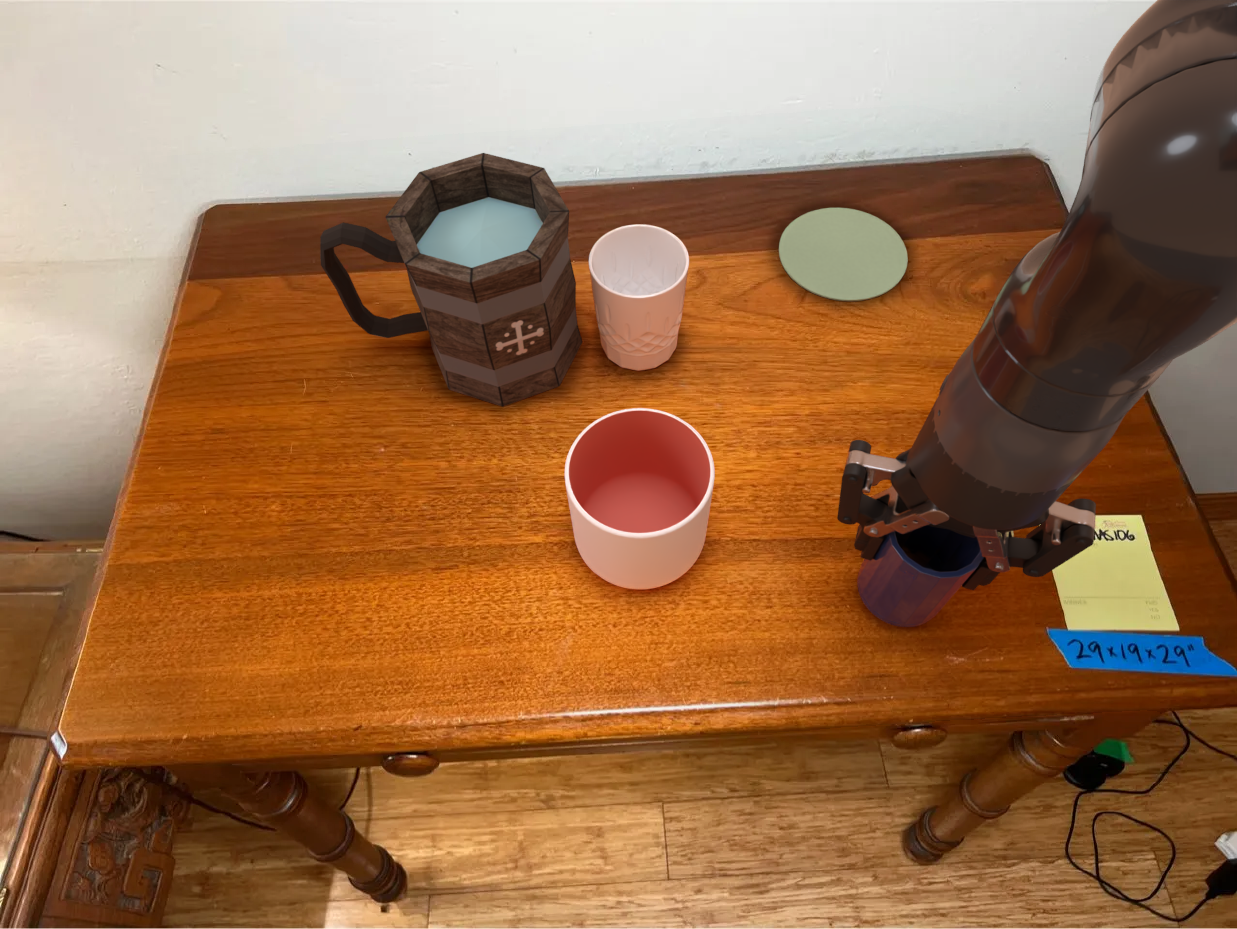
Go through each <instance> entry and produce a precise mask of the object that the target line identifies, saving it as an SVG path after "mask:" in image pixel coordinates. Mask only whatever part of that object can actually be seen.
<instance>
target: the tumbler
mask: <svg viewBox="0 0 1237 929" xmlns="http://www.w3.org/2000/svg"><path fill="white" fill-rule="evenodd" d="M983 559H984V557H982V554H981V550H980V547H979V543H978V540H977V537H975V538H972V537H968V536H964V535H961V534H958V533H956V532H954V531H951V530H949V529H944V528H937V527H932V526H928V525H926V526H924V527H921V528H918V529H916V530H913V531H911V532H908V533H906V534H900V533H899V532H897V531H894V532H892V533H889V534H887V535H884V539H883V541H882V543H881V545H880V546H879V548H878V550H877V552H876V553H875V555H874V557H873V559H872V560H871V561H870V560H867V559H863V561H862V562H861V564H860V568H859V570H858V574H857V579H856V580H857V584H856V585H857V590H858V595H859V596H860V599H861V601H862V602H863V604H864V606H865V607H866V608H867V609H868V611H869V612H870V613H871V614H872V615H874V616H875V617H876V618H877V619H878V620H881V621H882V622H884V623H886V624H889V625H890V626H891V625H892V626H894V627H895V626H896V627H900V628H913V627H919V626H922V625H924V624H926V623H928V622H929V621H931V620H932V619H933V618H935V617H936V616H937V615H938V614H939V612H940V611H941V610H942V609H943V608H944V607H945V606H946V604H947V603H948V602H949V601H950V600H951V599H952V598H953V596H954V595H955V594H956V593H957V592H958V591H959V589H961V588H962V585H963V583H964V582H965V581H966V580H967V579H968V578H969V576H970V575H971V574H972V573H973V572H974V571H975V570H976V568H977V567H978V566H979V564H980V563H981V561H982V560H983Z"/></svg>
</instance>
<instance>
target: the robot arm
mask: <svg viewBox="0 0 1237 929" xmlns="http://www.w3.org/2000/svg"><path fill="white" fill-rule="evenodd" d="M1093 92H1094V93H1093V98H1092V103H1091V111H1090V118H1089V126H1088V133H1087V138H1086V145H1085V153H1084V160H1083V167H1082V172H1081V178H1080V182H1079V186H1078V189H1077V192H1076V195H1075V197H1074V200H1073V203H1072V205H1071V207H1070V209H1069V212H1068V215H1067V216H1066V219H1065V221H1064V223H1063V226H1062V228H1061V230H1060V231H1058V232H1056V233H1053V234H1051V235H1049V236H1047V237H1046V238H1044V239H1042V240H1041V241H1039V242H1037V243H1036V244H1035V245H1034V246H1033V247H1032V248H1031V249H1030V250H1028V251H1027V253H1026V254H1025V255H1024V256H1022V258H1021V259H1020V261H1019V262H1018V263H1017V264H1016V265H1015V266H1014V268H1013V269H1012V271H1010V274H1009V275H1008V277H1007V279H1006V281H1005V282H1004V283H1003V285H1002V287H1001V289H1000V291H999V292H998V294H997V296H996V297H995V299H994V302H993V303H992V305H991V306H990V309H989V310H988V312H987V314H986V317H985V318H984V320H983V322H982V324H981V325H980V328H979V330H978V331H977V334H976V336H975V337H974V338H973V340H972V341H971V342H970V344H968V346H967V347H966V348H965V349H964V351H963V352H962V353H961V355H960V356H959V358H958V359H957V361H956V362H955V364H954V365H953V367H952V369H951V371H950V372H948V374H947V375H946V376H945V378H944V379H943V382H942V383H941V385H940V387H939V392H938V395H937V397H936V400H935V402H934V403H933V405H932V407H931V409H930V410H929V413H928V415H927V417H926V419H925V420H924V423H923V425H922V426H921V429H920V431H919V432H918V434H917V436H916V438H915V440H914V442H913V444H912V446H911V447H909V448H908V449H907V450H905V451H902V452H901V453H899V454H898V455H897V456H896V457H895V458H894V457H888V456H883V455H879V454H872V453H871V451H872V445H871V444H870V443H869V441H866V440H864V439H854V440H852V441H851V442H850V444H849V447H848V452H847V455H846V461H845V464H844V469H843V473H842V476H841V483H840V491H839V498H838V499H839V501H838V508H837V517H836V519H837V521H838V522H840V524H843V525H848V526H852V525H856V524H858V526H857V529H856V534H855V538H854V544H853V546H854V549H855V550H857V551H861V552H860V559H862V560H864V559H867V560H870V561H871V560H872V559H873V557H874V555H875V553H876V552H877V550H878V548H879V546H880V545H881V543H882V541H883V539H884V535H887V534H889V533H892V532H894V531H897V532H899V533H900V534H906V533H908V532H911V531H913V530H916V529H918V528H921V527H924V526H926V525H928V526H932V527H937V528H944V529H949V530H951V531H954V532H956V533H958V534H961V535H964V536H968V537H972V538H975V537H977V540H978V543H979V547H980V550H981V554H982V557H984V559H983V560H982V561H981V563H980V564H979V566H978V567H977V568H976V570H975V571H974V572H973V573H972V574H971V575H970V576H969V578H968V579H967V580H966V581H965V582H964V583H963V585H962V586H961V588H963V589H967V590H971V591H975V590H976V589H977V588H978V586H982V587H984V586H985V587H986V586H988V585H990V584H991V583H992V582H993V581H994V580H995V579H996V578H997V577H998V576H999V575H1000V574H1001V573H1007V572H1009V571H1011V568H1021V569H1022V573H1023V574H1024V575H1025V576H1028V577H1031V578H1042V577H1043V576H1046V575H1047V574H1049V573H1051V572H1052V571H1053V570H1056V569H1057V568H1058V567H1060V566H1062V565H1063V564H1064V563H1066V562H1068V561H1069V560H1071V559H1073V558H1074V557H1075V556H1077V555H1078V554H1080V553H1082V552H1083V551H1085V550H1086V549H1088V548H1089V547H1091V546H1093V545H1094V543H1095V541H1094V540H1095V531H1096V516H1097V515H1096V511H1097V504H1096V502H1095V501H1094V500H1092V499H1089V498H1076V499H1073V500H1072V501H1070V502H1069V503H1068V504H1065V503H1063V502H1060V501H1057V500H1058V499H1059V498H1060V497H1061V496H1062V495H1063V494H1064V492H1066V491H1067V489H1069V487H1070V486H1071V485H1072V484H1073V483H1074V482H1075V480H1077V479H1078V477H1079V476H1080V475H1081V474H1082V473H1083V472H1084V470H1085V469H1087V467H1088V466H1089V465H1090V464H1091V463H1092V461H1094V460H1095V459H1096V458H1097V456H1098V455H1099V454H1100V453H1101V452H1102V450H1104V448H1105V447H1106V446H1107V444H1109V442H1110V441H1111V439H1112V438H1113V436H1114V435H1115V433H1116V432H1117V430H1118V428H1119V426H1120V425H1121V423H1122V421H1123V420H1124V418H1125V417H1126V415H1127V414H1128V413H1129V412H1130V410H1131V409H1132V408H1133V407H1134V406H1135V405H1136V404H1137V403H1138V401H1140V399H1141V398H1142V397H1143V396H1144V395H1145V394H1146V392H1147V391H1148V390H1149V389H1150V388H1151V387H1152V386H1153V385H1154V384H1155V383H1156V382H1157V380H1158V379H1159V378H1160V376H1162V375H1163V373H1164V372H1165V371H1166V370H1167V368H1168V367H1169V366H1170V365H1171V363H1172V362H1173V361H1174V360H1175V359H1177V358H1179V357H1180V356H1182V355H1185V354H1186V353H1188V352H1190V351H1192V350H1194V349H1196V348H1198V347H1199V346H1202V345H1203V344H1205V343H1207V342H1208V341H1210V340H1211V339H1213V338H1215V337H1216V336H1218V335H1220V334H1221V333H1222V332H1224V331H1226V330H1227V329H1228V328H1230V327H1232V326H1234V325H1235V324H1237V0H1155V2H1153V3H1152V4H1151V5H1150V6H1149V7H1148V8H1147V9H1146V10H1145V11H1144V12H1143V13H1142V14H1141V15H1140V16H1139V17H1138V18H1136V20H1135V21H1134V22H1133V23H1132V24H1131V25H1130V26H1129V28H1128V29H1127V30H1126V31H1125V32H1124V34H1122V36H1121V37H1120V38H1119V40H1118V41H1117V43H1116V44H1115V46H1113V48H1112V50H1111V51H1110V52H1109V55H1108V57H1107V58H1106V60H1105V62H1104V64H1103V66H1102V68H1101V71H1100V73H1099V75H1098V77H1097V80H1096V84H1095V87H1094V91H1093ZM887 480H888V481H890V484H891V485H890V486H889V487H888V488H886V489H884V490H882V491H880V492H878V493H876V494H874V495H867V494H869V493H871V490H872V487H876V486H878V485H879V483H880V482H881V481H887ZM1034 527H1035V528H1034ZM1029 528H1034V529H1032V530H1031V531H1030V532H1028V533H1027V534H1026V535H1025V537H1017V536H1015V534H1014V532H1015V531H1019V530H1020V531H1021V530H1024V529H1029Z"/></svg>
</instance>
